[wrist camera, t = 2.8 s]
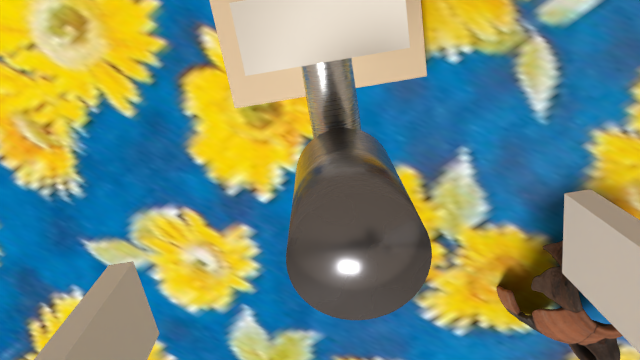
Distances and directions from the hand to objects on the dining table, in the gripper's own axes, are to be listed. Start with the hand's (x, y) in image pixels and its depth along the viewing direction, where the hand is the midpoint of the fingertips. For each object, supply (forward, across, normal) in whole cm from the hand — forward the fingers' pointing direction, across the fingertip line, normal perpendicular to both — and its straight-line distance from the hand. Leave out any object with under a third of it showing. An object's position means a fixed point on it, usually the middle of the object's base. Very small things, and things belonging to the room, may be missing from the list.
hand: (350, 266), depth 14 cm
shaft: (+11, 0, -8) cm, 13 cm away
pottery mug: (+22, -18, +18) cm, 33 cm away
